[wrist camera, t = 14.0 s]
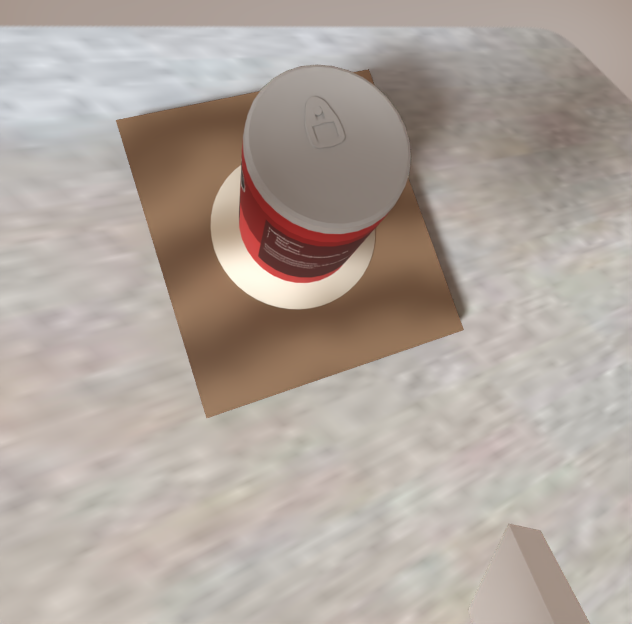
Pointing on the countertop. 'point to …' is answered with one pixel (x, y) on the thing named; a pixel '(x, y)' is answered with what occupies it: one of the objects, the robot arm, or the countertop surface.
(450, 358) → the countertop surface
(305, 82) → the canned food
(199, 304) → the board
